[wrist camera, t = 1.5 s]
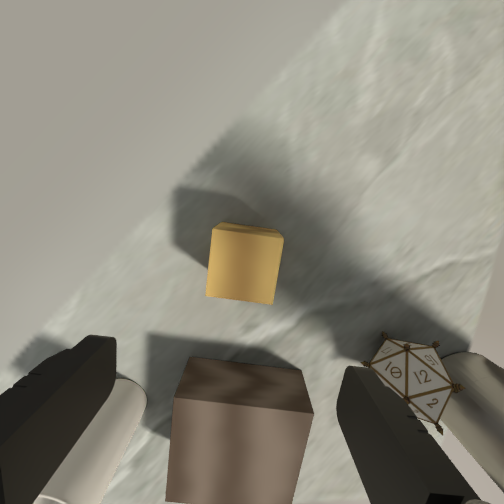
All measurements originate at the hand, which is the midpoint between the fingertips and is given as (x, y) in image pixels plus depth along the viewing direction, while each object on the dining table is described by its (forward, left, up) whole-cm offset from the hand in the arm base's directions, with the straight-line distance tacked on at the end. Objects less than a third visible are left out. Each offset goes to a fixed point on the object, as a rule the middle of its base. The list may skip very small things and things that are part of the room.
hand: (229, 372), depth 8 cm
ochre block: (0, 0, -18) cm, 18 cm away
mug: (+13, +23, -18) cm, 32 cm away
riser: (-2, +21, -18) cm, 28 cm away
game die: (-19, +10, -18) cm, 28 cm away
